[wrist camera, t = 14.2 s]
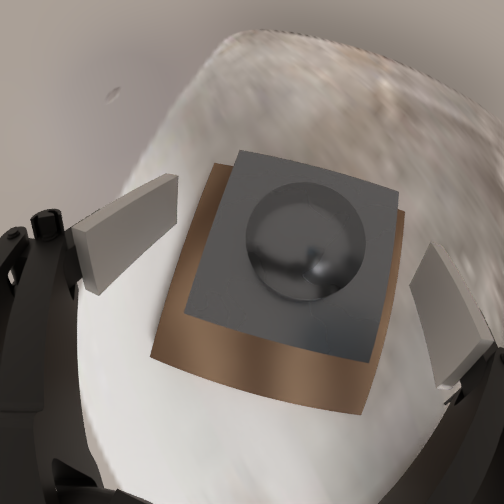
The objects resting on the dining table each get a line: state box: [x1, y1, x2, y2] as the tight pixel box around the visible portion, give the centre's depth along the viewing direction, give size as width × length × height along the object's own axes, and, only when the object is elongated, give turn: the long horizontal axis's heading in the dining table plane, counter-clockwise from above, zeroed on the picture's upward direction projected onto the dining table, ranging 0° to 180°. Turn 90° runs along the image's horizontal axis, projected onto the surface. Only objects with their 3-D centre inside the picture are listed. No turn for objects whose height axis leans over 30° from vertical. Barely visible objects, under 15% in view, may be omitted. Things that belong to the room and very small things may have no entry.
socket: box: [184, 150, 399, 363], centre depth 13 cm, size 6×6×11 cm
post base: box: [150, 163, 405, 415], centre depth 17 cm, size 16×16×6 cm
